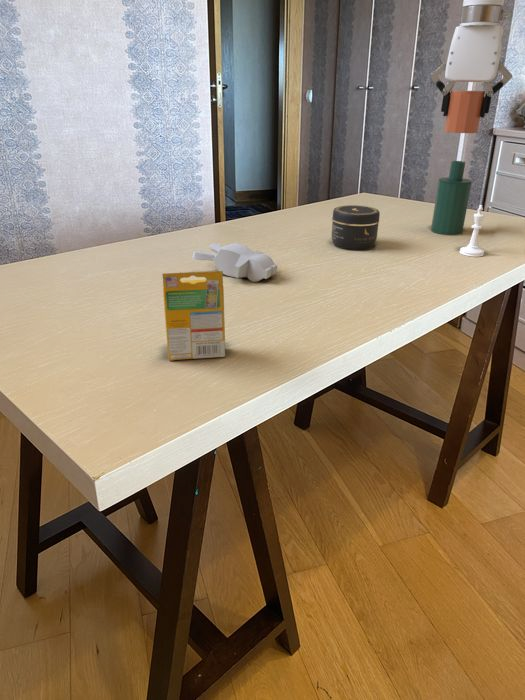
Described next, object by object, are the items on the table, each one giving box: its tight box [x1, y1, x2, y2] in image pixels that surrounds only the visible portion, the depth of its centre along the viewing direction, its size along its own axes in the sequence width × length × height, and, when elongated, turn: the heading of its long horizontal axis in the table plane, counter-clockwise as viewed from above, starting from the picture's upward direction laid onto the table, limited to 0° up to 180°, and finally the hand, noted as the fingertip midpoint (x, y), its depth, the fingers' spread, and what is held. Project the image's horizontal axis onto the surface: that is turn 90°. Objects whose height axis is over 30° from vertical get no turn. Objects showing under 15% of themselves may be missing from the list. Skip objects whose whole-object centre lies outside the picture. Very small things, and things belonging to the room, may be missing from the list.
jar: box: [331, 204, 381, 251], centre depth 114 cm, size 10×10×8 cm
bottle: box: [430, 160, 473, 236], centre depth 124 cm, size 7×7×16 cm
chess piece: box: [458, 204, 485, 258], centre depth 109 cm, size 5×5×10 cm
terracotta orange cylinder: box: [444, 89, 486, 134], centre depth 112 cm, size 7×7×8 cm
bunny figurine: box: [191, 242, 279, 283], centre depth 97 cm, size 10×5×15 cm
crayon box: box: [161, 270, 226, 362], centre depth 66 cm, size 7×3×12 cm, turn 99°
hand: (463, 115), depth 113 cm, fingers closed on terracotta orange cylinder, 6 cm apart
